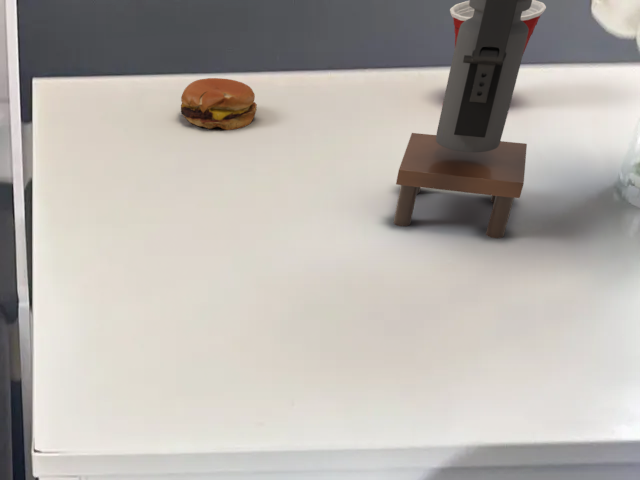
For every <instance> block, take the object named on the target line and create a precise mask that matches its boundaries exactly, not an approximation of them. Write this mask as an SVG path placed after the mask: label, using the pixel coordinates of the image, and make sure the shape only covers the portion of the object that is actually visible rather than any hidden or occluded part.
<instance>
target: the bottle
mask: <svg viewBox="0 0 640 480" xmlns="http://www.w3.org/2000/svg"><path fill="white" fill-rule="evenodd" d="M468 1H469V6H470V7H471V8H473V9H474V14H473V17H472V18H469V19H468V20H466V21H464V22H463V23H462V24H461V26H460V28H459V32H458V36H457V41H456V45H455V44H454V51H453V55H452V60H451V64H450V69H449V73H448V77H447V83H446V88H445V92H444V97H443V102H442V106H441V111H440V116H439V120H438V125H437V130H436V134H435V135H436V142H437V143H438V144H440V145H441V146H443V147H445V148H448V149H452V150H456V151H463V152H486V151H490V150H494V149H496V148H497V147H498V146H499V144H500V141H502V136H503V133H504V129H505V125H506V122H507V118H508V115H509V111H510V107H511V104H512V103H511V102H512V99H513V94H514V90H515V88H516V83H517V79H518V75H519V71H520V69H521V64H522V60H523V57H524V54H523V52H524V53H525V51H524V48H525V44H526V40H527V36H528V31H529V29H528V27H527V25H526V24H525V23H524V22H523V21H521V14H522V11H526V10H528V9H529V8H530V7H531V3H532V0H518V1H517V5H516V9H515V13H514V18H513V22H512V26H511V30H510V34H509V38H508V42H507V46H506V50H505V51H506V53H507V54H506V58H505V59H504V62H503V66H502V70H501V74H500V78H499V82H498V86H497V90H496V95H495V99H494V103H493V107H492V111H491V115H490V119H489V123H488V127H487V131H486V135H485V138H484V137H473V136H462V135H454V132H455V128H456V123H457V119H458V114H459V110H460V106H461V101H462V97H463V92H464V88H465V83H466V79H467V75H468V70H469V66H470V63H463V60H464V55H470V56H472V52H473V51H474V49H475V47H476V43H477V39H478V34H479V30H480V25H481V21H482V17H483V12H484V8H485V4H486V0H468ZM485 47H486V46H485ZM495 48H497V47H495Z"/></svg>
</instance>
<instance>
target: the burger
mask: <svg viewBox="0 0 640 480" xmlns="http://www.w3.org/2000/svg"><path fill="white" fill-rule="evenodd" d="M255 98H256V95H255V92H254V91H253V89H252V88H251V87H250V86H249V85H248V84H245V83H244V82H242V81H238V80H234V79H229V78H221V77H219V78H218V77H209V78H201V79H196V80H194V81H192V82H190V83H189V84H188V85H187V86H186V87H185V88H184V89H183V92H182V94H181V98H180V101H181V104H180V114H181V115H182V116H183V117H184V118H185V120H187V122H189V124H192V125H195V126H197V127H203V128H205V129H207V130H210V129H215V128H221V129H222V130H225V131H233V130H237V129H242V128H245V127H247V126H249V125H250V124H251V123H252V121H253V120H254V118H255V115H256V112H257V107H258V106H257V105H258V104H257V103H256V102H255Z"/></svg>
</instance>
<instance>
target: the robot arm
mask: <svg viewBox="0 0 640 480" xmlns="http://www.w3.org/2000/svg"><path fill="white" fill-rule="evenodd" d="M517 1H518V0H486V4H485V8H484V12H483V17H482V21H481V25H480V30H479V34H478V39H477V43H476V47H475V49H474V51H473V52H472V56H470V55H464V60H463V63H470V66H469V70H468V75H467V79H466V83H465V88H464V92H463V97H462V101H461V106H460V110H459V114H458V119H457V123H456V128H455V132H454V135H462V136H473V137H484V138H485V135H486V131H487V127H488V123H489V119H490V115H491V111H492V107H493V103H494V99H495V95H496V90H497V86H498V82H499V78H500V74H501V70H502V66H503V62H504V59H505V58H506V54H507V53H506V51H505V50H506V46H507V42H508V38H509V34H510V30H511V26H512V22H513V18H514V13H515V9H516V5H517ZM485 46H486V47H485ZM495 47H497V48H495Z"/></svg>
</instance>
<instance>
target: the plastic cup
mask: <svg viewBox="0 0 640 480" xmlns="http://www.w3.org/2000/svg"><path fill="white" fill-rule="evenodd" d="M469 1H470V0H465V1H463V2H460V3H459V2H458V3H456V4H454V5H453V6H452V7H450V8H449V13H450V15H451V17H452V19H453V25H454V46H455V45H456V41H457V36H458V32H459V28H460V26H461V24H462V23H463V22H464V21H466V20H468V19H469V18H472V17H473V14H474V9H473V8H471V7H470V6H469ZM546 9H547V6H546V4H545V3H544V2H542V1H539V0H532V3H531V7H530V8H529V9H528V10H526V11H522V14H521V21H523V22H524V23H525V24H526V25H527V27H528V29H529V31H528V36H527V40H526V44H525V48H524V52H523V55H524V54H525V51H526V49H527V46H528V45H529V41H530V39H531V37H532V36H533V33H534V30H535V28H536V26H537V25H538V22H539V19H540V18H541V16H542V15H543V14H544V13H545V12H546Z"/></svg>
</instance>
